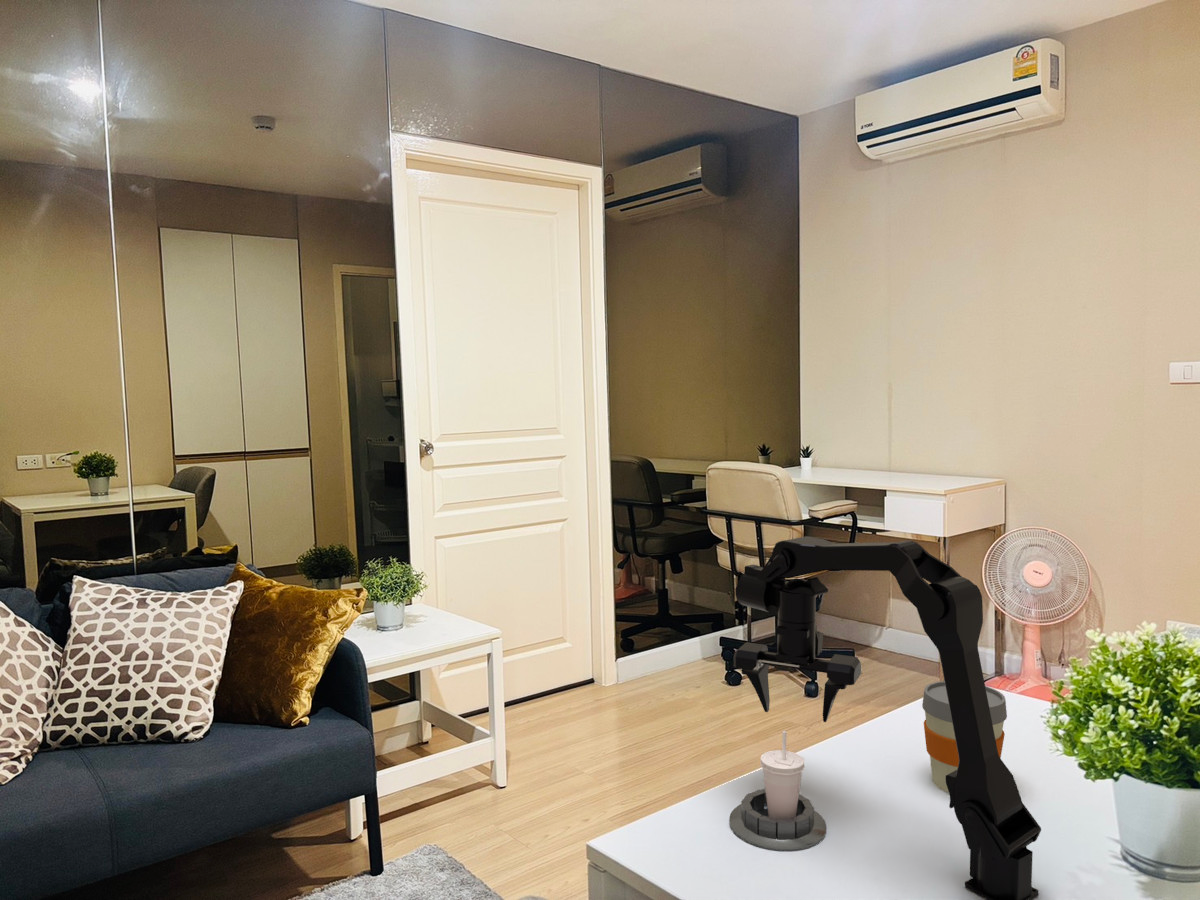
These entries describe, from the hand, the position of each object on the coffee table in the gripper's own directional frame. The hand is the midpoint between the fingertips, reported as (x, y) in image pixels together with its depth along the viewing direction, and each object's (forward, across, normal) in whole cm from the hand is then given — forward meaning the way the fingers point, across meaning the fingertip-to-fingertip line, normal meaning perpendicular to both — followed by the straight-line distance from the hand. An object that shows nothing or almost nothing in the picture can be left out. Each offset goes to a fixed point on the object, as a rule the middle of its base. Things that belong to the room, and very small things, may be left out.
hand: (795, 716), depth 137 cm
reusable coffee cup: (+13, -23, -16) cm, 31 cm away
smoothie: (+13, -1, +10) cm, 16 cm away
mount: (+13, 0, +10) cm, 16 cm away
